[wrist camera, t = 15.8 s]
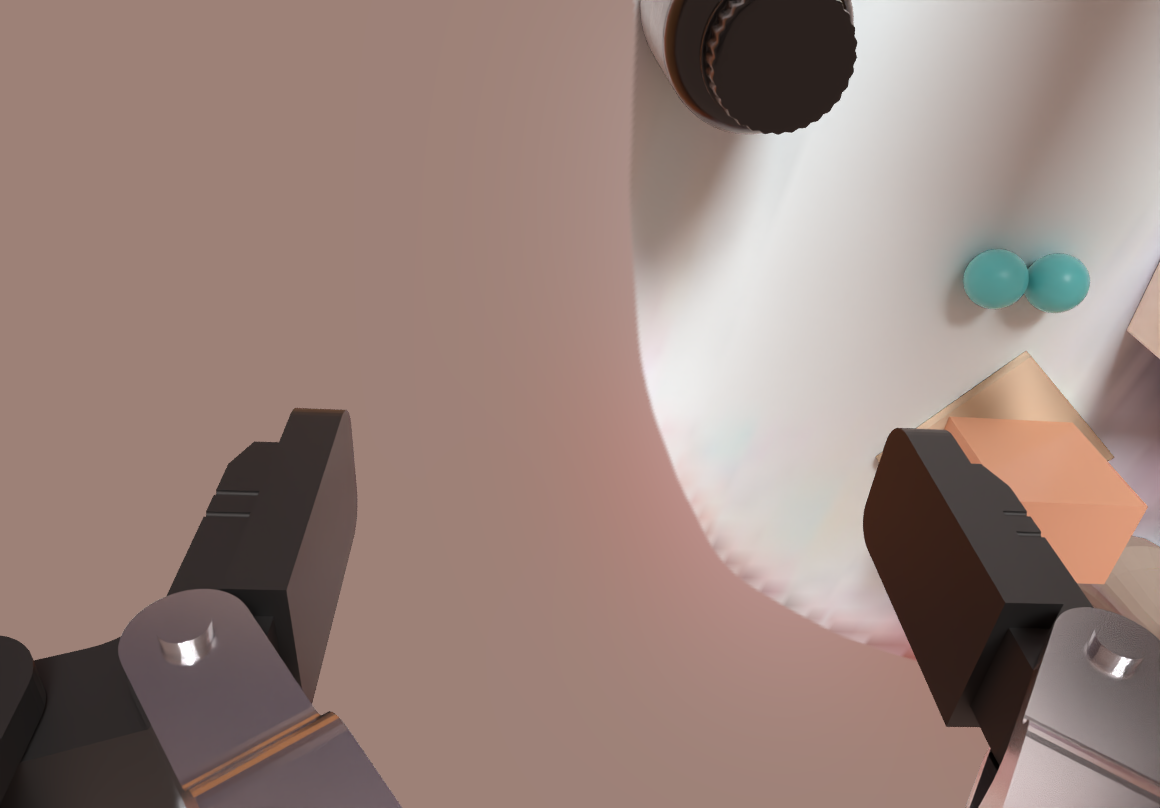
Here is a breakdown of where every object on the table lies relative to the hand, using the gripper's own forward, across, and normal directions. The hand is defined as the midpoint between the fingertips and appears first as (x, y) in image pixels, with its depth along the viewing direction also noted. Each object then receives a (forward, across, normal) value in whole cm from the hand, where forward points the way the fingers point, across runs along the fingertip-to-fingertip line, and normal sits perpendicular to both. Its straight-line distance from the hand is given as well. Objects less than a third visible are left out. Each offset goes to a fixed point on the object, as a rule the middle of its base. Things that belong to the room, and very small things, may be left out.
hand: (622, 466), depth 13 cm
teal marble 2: (+31, +26, -10) cm, 41 cm away
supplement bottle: (+31, +6, +2) cm, 32 cm away
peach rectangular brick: (+30, +27, -22) cm, 46 cm away
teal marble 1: (+31, +22, -10) cm, 39 cm away
